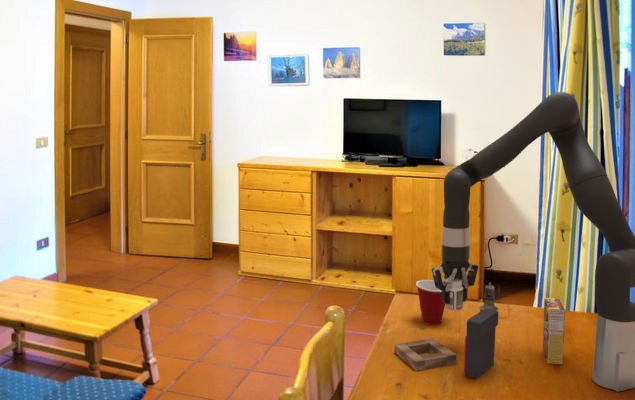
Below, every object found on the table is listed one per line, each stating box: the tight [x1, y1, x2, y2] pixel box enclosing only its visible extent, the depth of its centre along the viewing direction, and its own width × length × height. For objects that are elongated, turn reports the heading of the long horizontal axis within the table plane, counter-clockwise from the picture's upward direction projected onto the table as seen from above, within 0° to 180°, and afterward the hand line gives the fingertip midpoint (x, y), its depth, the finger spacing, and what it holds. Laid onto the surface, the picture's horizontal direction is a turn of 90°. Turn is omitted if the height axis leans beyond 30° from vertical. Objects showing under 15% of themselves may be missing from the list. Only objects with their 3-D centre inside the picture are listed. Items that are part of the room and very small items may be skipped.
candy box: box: [542, 297, 566, 365], centre depth 169 cm, size 9×4×15 cm, turn 168°
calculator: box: [463, 309, 499, 380], centre depth 162 cm, size 11×4×15 cm, turn 141°
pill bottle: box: [445, 278, 464, 312], centre depth 177 cm, size 5×5×8 cm
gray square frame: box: [393, 337, 457, 372], centre depth 171 cm, size 12×12×2 cm
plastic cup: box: [415, 279, 446, 325], centre depth 197 cm, size 11×11×12 cm
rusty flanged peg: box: [478, 282, 499, 312], centre depth 198 cm, size 6×6×12 cm
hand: (454, 301), depth 177 cm, fingers closed on pill bottle, 4 cm apart
